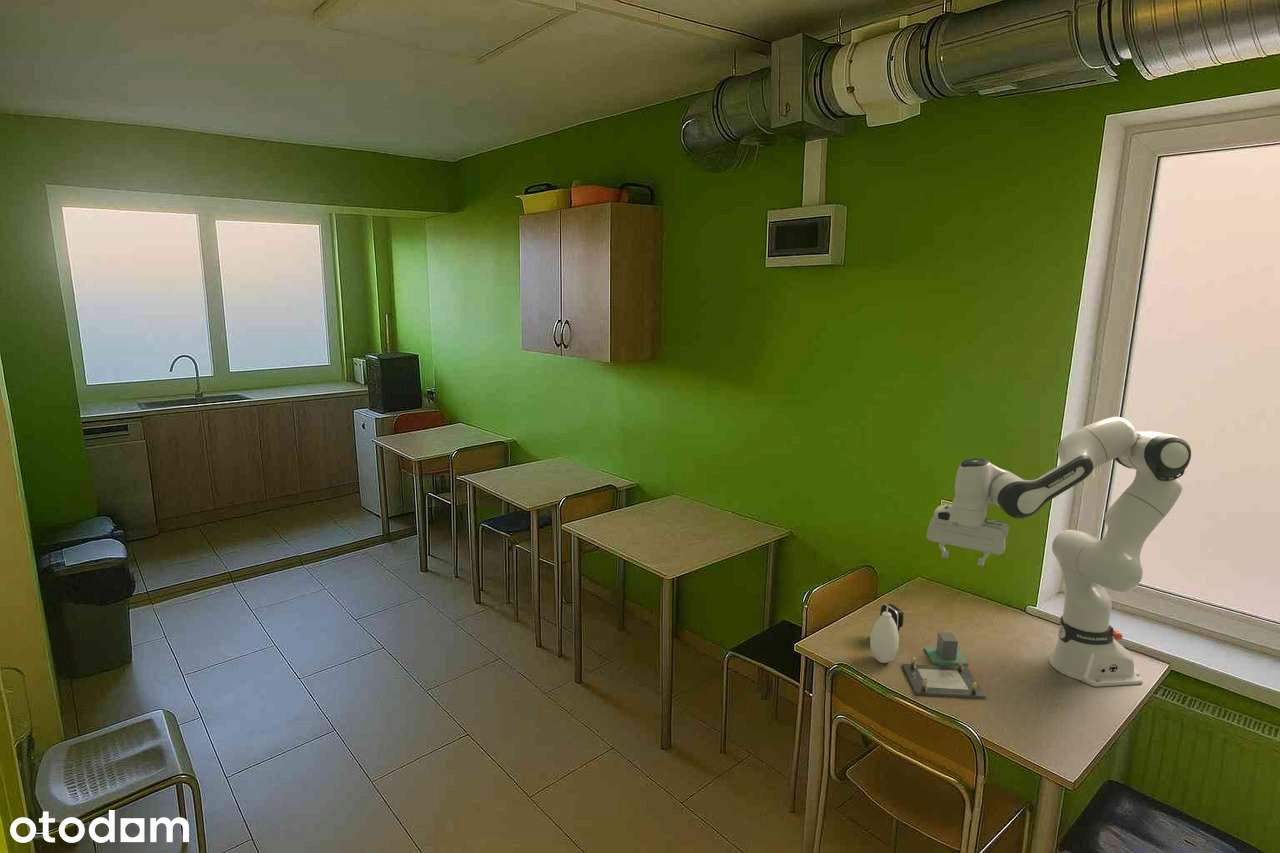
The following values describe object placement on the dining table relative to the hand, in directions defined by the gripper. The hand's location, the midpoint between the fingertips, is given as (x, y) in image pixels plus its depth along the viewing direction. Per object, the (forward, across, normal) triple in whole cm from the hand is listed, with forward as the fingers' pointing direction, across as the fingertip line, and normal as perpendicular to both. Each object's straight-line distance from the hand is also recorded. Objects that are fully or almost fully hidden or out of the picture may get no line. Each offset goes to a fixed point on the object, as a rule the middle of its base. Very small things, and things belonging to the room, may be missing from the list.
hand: (962, 561), depth 199 cm
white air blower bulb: (+31, +16, +12) cm, 37 cm away
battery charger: (+31, +17, -1) cm, 36 cm away
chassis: (+31, 0, +14) cm, 34 cm away
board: (+31, +1, 0) cm, 31 cm away
